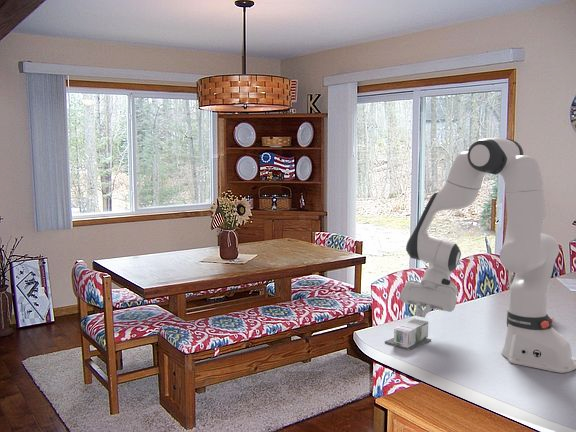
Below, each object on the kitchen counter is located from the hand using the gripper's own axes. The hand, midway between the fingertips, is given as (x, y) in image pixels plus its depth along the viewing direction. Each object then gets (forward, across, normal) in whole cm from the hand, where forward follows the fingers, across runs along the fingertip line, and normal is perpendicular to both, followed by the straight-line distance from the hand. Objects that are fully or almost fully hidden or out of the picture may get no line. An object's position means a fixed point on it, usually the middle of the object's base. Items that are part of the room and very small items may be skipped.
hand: (419, 316), depth 201 cm
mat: (+10, -1, +1) cm, 10 cm away
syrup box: (+2, 0, +4) cm, 5 cm away
